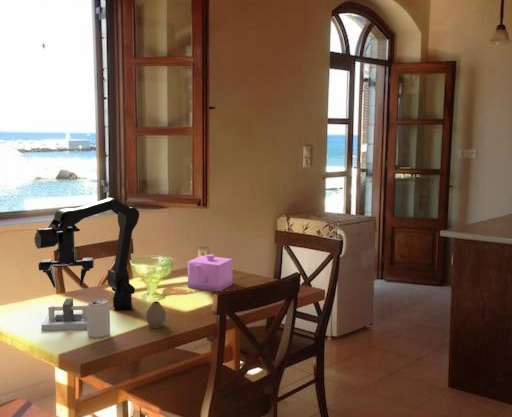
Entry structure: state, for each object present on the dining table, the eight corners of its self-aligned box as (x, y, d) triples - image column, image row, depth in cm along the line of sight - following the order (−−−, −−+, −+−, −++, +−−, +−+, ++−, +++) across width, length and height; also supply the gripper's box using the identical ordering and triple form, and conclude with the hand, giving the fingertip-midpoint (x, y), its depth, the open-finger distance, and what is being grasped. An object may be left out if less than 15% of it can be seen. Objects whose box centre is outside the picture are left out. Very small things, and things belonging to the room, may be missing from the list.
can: (89, 331, 208) (88, 297, 206) (111, 331, 209) (111, 297, 207) (85, 339, 201) (84, 304, 199) (108, 339, 201) (107, 304, 200)
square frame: (93, 316, 223) (93, 299, 222) (89, 328, 211) (88, 310, 210) (49, 318, 221) (48, 300, 220) (41, 330, 208) (40, 312, 207)
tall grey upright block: (73, 318, 219) (72, 298, 218) (70, 325, 213) (69, 304, 211) (66, 319, 219) (66, 298, 218) (63, 326, 212) (62, 304, 211)
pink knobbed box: (179, 291, 256) (179, 259, 254) (207, 277, 279) (207, 248, 277) (211, 296, 250) (211, 263, 248) (237, 281, 273) (237, 251, 271)
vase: (157, 330, 210) (156, 306, 208) (142, 327, 213) (141, 303, 212) (170, 325, 215) (169, 301, 214) (155, 321, 219) (155, 298, 218)
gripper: (95, 239, 225) (96, 279, 227) (42, 240, 222) (45, 281, 224) (92, 245, 214) (93, 288, 216) (37, 247, 211) (39, 290, 213)
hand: (68, 287), depth 218 cm, fingers open, 9 cm apart
